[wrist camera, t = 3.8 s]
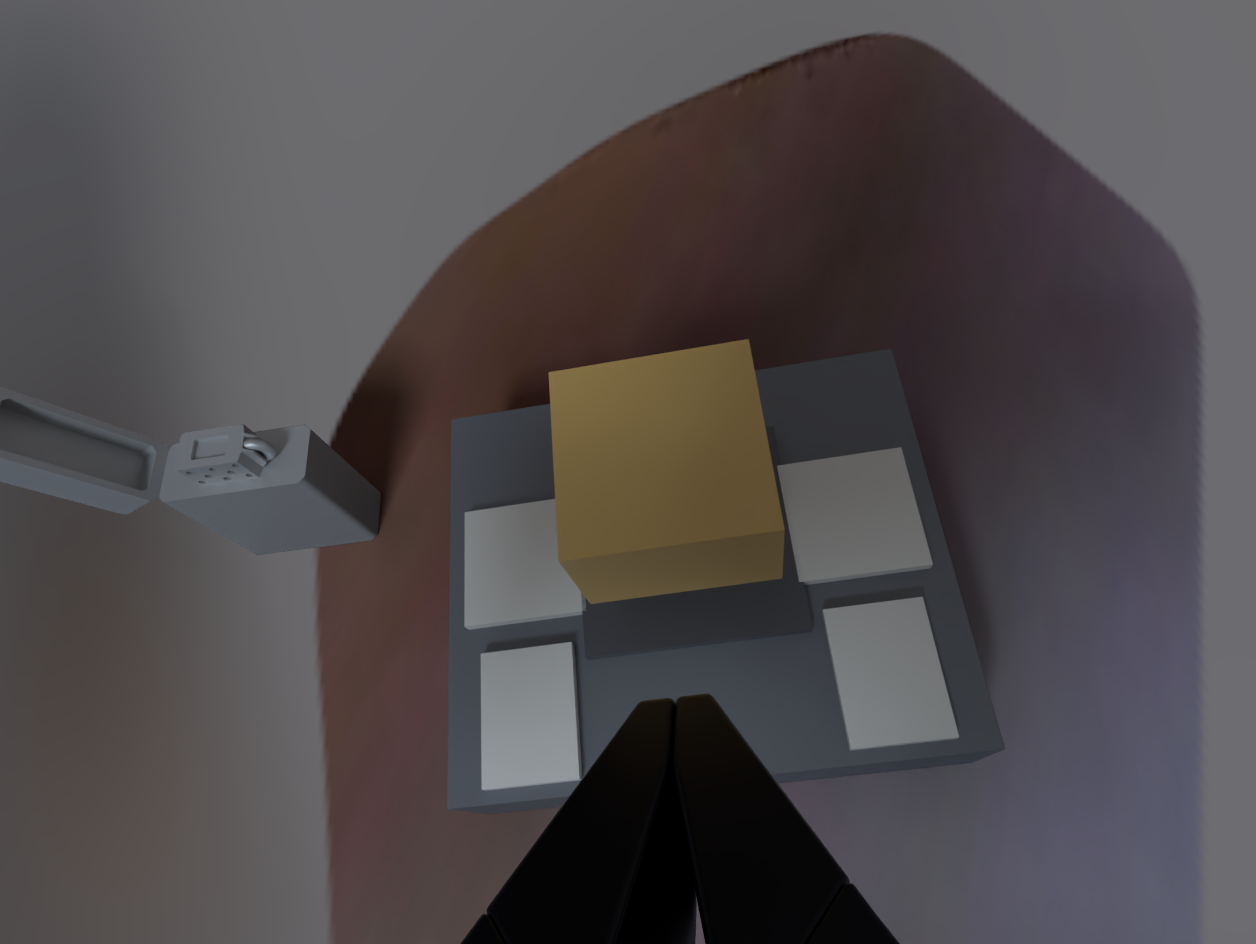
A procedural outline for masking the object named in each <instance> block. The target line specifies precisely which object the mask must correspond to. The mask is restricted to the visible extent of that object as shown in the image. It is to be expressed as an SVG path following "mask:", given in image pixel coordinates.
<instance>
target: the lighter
mask: <svg viewBox="0 0 1256 944" xmlns="http://www.w3.org/2000/svg"><path fill="white" fill-rule="evenodd" d="M0 481H1V482H5V483H8V484H12V485H16V486H20V487H23V488H27V489H31V490H35V491H38V492H42V493H46V494H50V495H54V496H58V497H61V498H65V499H68V500H72V501H76V502H80V503H83V504H87V505H91V506H95V507H99V508H102V509H106V510H110V511H114V512H118V513H121V514H125V515H126V514H128V513H130V512H132V511H134V510H136V509H138V508H139V507H141V506H143V505H145V504H147V503H148V502H150V501H152V500H154V499H156V498H158V497H159V498H160V499H161V500H162V501H163V502H164V503H166V504H168V505H170V506H171V507H173V508H175V509H176V510H178V511H180V512H182V513H183V514H185V515H187V516H189V517H191V518H192V519H194V520H196V521H198V522H199V523H201V524H203V525H205V526H207V527H208V528H210V529H212V530H214V531H215V532H217V533H219V534H221V535H222V536H224V537H226V538H228V539H229V540H231V541H233V542H235V543H237V544H239V545H240V546H242V547H244V548H245V549H247V550H249V551H251V552H253V553H254V554H256V555H262V554H270V553H277V552H285V551H293V550H301V549H307V548H316V547H324V546H331V545H339V544H347V543H354V542H362V541H370V540H373V539H374V538H375V537H376V536H377V535H378V528H379V514H380V500H381V493H380V492H379V491H378V490H377V489H376V488H375V487H374V486H373V485H371V484H370V483H369V482H368V481H367V480H366V479H365V478H364V477H363V476H362V475H360V474H359V473H358V472H357V471H356V470H355V469H354V468H353V467H352V466H350V465H349V464H348V463H347V462H346V461H345V460H344V459H343V458H342V457H341V456H339V455H338V454H337V453H336V452H335V451H334V450H333V449H332V448H331V447H329V446H328V445H327V444H326V443H325V442H324V441H323V440H322V439H321V438H320V437H318V436H317V435H316V434H315V433H314V432H313V431H312V430H310V428H308V427H307V426H306V425H299V426H292V427H285V428H278V429H273V430H265V431H258V432H252V431H251V430H250V429H249V428H247V427H246V426H245V425H244V424H240V425H234V426H227V427H220V428H214V429H207V430H200V431H194V432H187V433H184V434H183V435H182V436H181V437H180V443H178V444H175V445H173V446H172V447H171V448H170V449H169V450H168V449H167V447H166V446H165V444H164V443H163V442H160V441H157V440H154V439H151V438H149V437H146V436H143V435H140V434H137V433H134V432H131V431H128V430H125V429H122V428H120V427H117V426H114V425H111V424H108V423H105V422H102V421H99V420H96V419H93V418H90V417H88V416H85V415H82V414H79V413H76V412H72V411H70V410H67V409H64V408H61V407H58V406H55V405H52V404H50V403H47V402H43V401H41V400H38V399H35V398H32V397H29V396H26V395H23V394H20V393H18V392H14V391H12V390H9V389H6V388H3V387H0Z"/></svg>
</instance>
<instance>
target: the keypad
mask: <svg viewBox="0 0 1256 944" xmlns="http://www.w3.org/2000/svg"><path fill="white" fill-rule="evenodd" d="M755 375H756V380H757V386H758V391H759V396H760V401H761V407H762V412H763V417H764V423H765V428H766V433H767V439H768V444H769V449H770V455H771V460H772V465H773V471H774V476H775V481H776V486H777V492H778V497H779V502H780V508H781V513H782V518H783V524H784V529H785V533H784V555H783V576H782V579H775V580H767V581H760V582H752V583H745V584H738V585H730V586H723V587H715V588H708V589H700V590H693V591H685V592H678V593H670V594H663V595H655V596H648V597H640V598H633V599H626V600H618V601H611V602H603V603H596V604H590V603H589V602H588V600H587V599H586V598H585V596H584V595H583V594H582V592H581V591H580V590H579V588H578V587H577V586H576V584H575V583H574V581H573V580H572V579H571V577H570V576H569V575H568V573H567V572H566V571H565V569H564V568H563V567H562V565H561V564H560V563H559V561H558V542H557V523H556V504H555V485H554V466H553V447H552V428H551V409H550V404H545V405H539V406H533V407H527V408H520V409H514V410H508V411H502V412H496V413H490V414H484V415H477V416H471V417H465V418H459V419H453V420H451V493H450V586H449V679H448V772H447V809H449V810H458V811H468V812H477V813H486V814H493V813H503V812H512V811H521V810H531V809H540V808H550V807H559V806H563V804H564V803H565V802H566V800H567V799H568V797H569V796H570V795H571V793H572V792H573V791H574V789H575V788H576V787H577V785H578V784H579V783H580V781H581V780H582V778H583V777H584V776H585V774H586V773H587V772H588V770H589V769H590V768H591V766H592V765H593V763H594V762H595V761H596V759H597V758H598V757H599V755H600V754H601V753H602V751H603V750H604V749H605V747H606V746H607V744H608V743H609V742H610V740H611V739H612V738H613V736H614V735H615V734H616V732H617V731H618V729H619V728H620V727H621V725H622V724H623V723H624V721H625V720H626V719H627V717H628V716H629V714H630V713H631V712H632V710H633V709H634V708H635V706H636V705H637V704H638V703H639V702H641V701H645V700H654V699H663V698H671V699H673V700H674V701H675V703H676V700H677V699H678V698H679V697H681V696H689V695H698V694H710V695H712V696H713V697H714V698H715V700H716V701H717V702H718V704H719V705H720V706H721V708H722V709H723V710H724V712H725V713H726V714H727V716H728V717H729V718H730V720H731V721H732V722H733V724H734V725H735V726H736V728H737V729H738V730H739V732H740V733H741V734H742V736H743V737H744V738H745V740H746V741H747V743H748V744H749V745H750V747H751V748H752V749H753V751H754V752H755V753H756V755H757V756H758V757H759V759H760V760H761V761H762V763H763V764H764V765H765V767H766V768H767V769H768V771H769V772H770V773H771V775H772V776H773V777H774V779H775V780H776V781H777V783H784V782H794V781H803V780H812V779H822V778H831V777H841V776H850V775H859V774H869V773H878V772H888V771H897V770H906V769H916V768H925V767H935V766H944V765H953V764H963V763H972V762H974V761H977V760H979V759H982V758H984V757H987V756H989V755H992V754H994V753H997V752H999V751H1002V750H1004V749H1005V748H1004V744H1003V741H1002V737H1001V734H1000V730H999V727H998V723H997V720H996V716H995V712H994V709H993V705H992V702H991V698H990V695H989V691H988V688H987V684H986V681H985V677H984V673H983V670H982V666H981V663H980V659H979V656H978V652H977V649H976V645H975V642H974V638H973V635H972V631H971V627H970V624H969V620H968V617H967V613H966V610H965V606H964V603H963V599H962V596H961V592H960V589H959V585H958V581H957V578H956V574H955V571H954V567H953V564H952V560H951V557H950V553H949V550H948V546H947V542H946V539H945V535H944V532H943V528H942V525H941V521H940V518H939V514H938V511H937V507H936V504H935V500H934V496H933V493H932V489H931V486H930V482H929V479H928V475H927V472H926V468H925V465H924V461H923V458H922V454H921V450H920V447H919V443H918V440H917V436H916V433H915V429H914V426H913V422H912V419H911V415H910V412H909V408H908V404H907V401H906V397H905V394H904V390H903V387H902V383H901V380H900V376H899V373H898V369H897V365H896V362H895V358H894V355H893V351H892V348H890V349H884V350H878V351H871V352H865V353H859V354H853V355H847V356H841V357H834V358H828V359H822V360H816V361H810V362H804V363H798V364H791V365H785V366H779V367H773V368H767V369H761V370H755Z"/></svg>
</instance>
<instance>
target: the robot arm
mask: <svg viewBox="0 0 1256 944" xmlns="http://www.w3.org/2000/svg"><path fill="white" fill-rule="evenodd" d="M696 897H697V902H698V907H699V913H700V918H701V923H702V928H703V933H704V939H705V944H900V943H899V942H898V941H897V940H896V938H895V937H894V936H893V935H892V933H891V932H890V931H889V930H888V928H887V927H886V926H885V925H884V924H883V922H882V921H881V920H880V919H879V917H878V916H877V915H876V914H875V912H874V911H873V910H872V908H871V907H870V906H869V904H868V903H867V902H866V900H865V899H864V898H863V896H862V895H861V893H860V892H859V891H858V889H857V888H856V887H855V886H854V885H853V884H852V883H850V881H849V878H848V877H847V875H846V874H845V873H844V871H843V870H842V869H841V867H840V866H839V865H838V863H837V862H836V861H835V859H834V858H833V857H832V855H831V854H830V853H829V851H828V850H827V848H826V847H825V846H824V844H823V843H822V842H821V840H820V839H819V838H818V836H817V835H816V834H815V832H814V831H813V830H812V828H811V827H810V826H809V824H808V823H807V822H806V820H805V819H804V818H803V816H802V815H801V814H800V812H799V811H798V810H797V808H796V807H795V806H794V804H793V803H792V802H791V800H790V799H789V798H788V796H787V795H786V793H785V792H784V791H783V789H782V788H781V787H780V785H779V784H778V783H777V781H776V780H775V779H774V777H773V776H772V775H771V773H770V772H769V771H768V769H767V768H766V767H765V765H764V764H763V763H762V761H761V760H760V759H759V757H758V756H757V755H756V753H755V752H754V751H753V749H752V748H751V747H750V745H749V744H748V743H747V741H746V740H745V738H744V737H743V736H742V734H741V733H740V732H739V730H738V729H737V728H736V726H735V725H734V724H733V722H732V721H731V720H730V718H729V717H728V716H727V714H726V713H725V712H724V710H723V709H722V708H721V706H720V705H719V704H718V702H717V701H716V700H715V698H714V697H713V696H712V695H710V694H698V695H689V696H681V697H679V698H678V699H677V700H676V703H675V701H674V700H673V699H671V698H663V699H654V700H645V701H641V702H639V703H638V704H637V705H636V706H635V708H634V709H633V710H632V712H631V713H630V714H629V716H628V717H627V719H626V720H625V721H624V723H623V724H622V725H621V727H620V728H619V729H618V731H617V732H616V734H615V735H614V736H613V738H612V739H611V740H610V742H609V743H608V744H607V746H606V747H605V749H604V750H603V751H602V753H601V754H600V755H599V757H598V758H597V759H596V761H595V762H594V763H593V765H592V766H591V768H590V769H589V770H588V772H587V773H586V774H585V776H584V777H583V778H582V780H581V781H580V783H579V784H578V785H577V787H576V788H575V789H574V791H573V792H572V793H571V795H570V796H569V797H568V799H567V800H566V802H565V803H564V804H563V806H562V807H561V808H560V810H559V811H558V812H557V814H556V815H555V817H554V818H553V819H552V821H551V822H550V823H549V825H548V826H547V827H546V829H545V830H544V832H543V833H542V834H541V836H540V837H539V838H538V840H537V841H536V842H535V844H534V845H533V846H532V848H531V849H530V851H529V852H528V853H527V855H526V856H525V857H524V859H523V860H522V861H521V863H520V864H519V866H518V867H517V868H516V870H515V871H514V872H513V874H512V875H511V876H510V878H509V879H508V880H507V882H506V883H505V885H504V886H503V887H502V889H501V890H500V891H499V893H498V894H497V895H496V897H495V898H494V900H493V901H492V902H491V904H490V905H489V906H488V908H487V914H483V915H481V917H480V918H479V919H478V921H477V922H476V924H475V925H474V926H473V928H472V929H471V930H470V932H469V933H468V934H467V936H466V937H465V938H464V940H463V941H462V943H461V944H695V937H696V904H697V903H696Z"/></svg>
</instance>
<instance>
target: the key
mask: <svg viewBox="0 0 1256 944" xmlns="http://www.w3.org/2000/svg"><path fill="white" fill-rule="evenodd" d="M549 390H550V409H551V428H552V447H553V466H554V485H555V504H556V523H557V542H558V561H559V563H560V564H561V565H562V567H563V568H564V569H565V571H566V572H567V573H568V575H569V576H570V577H571V579H572V580H573V581H574V583H575V584H576V586H577V587H578V588H579V590H580V591H581V592H582V594H583V595H584V596H585V598H586V599H587V600H588V602H589V603H590V604H596V603H603V602H611V601H618V600H626V599H633V598H640V597H648V596H655V595H663V594H670V593H678V592H685V591H693V590H700V589H708V588H715V587H723V586H730V585H738V584H745V583H752V582H760V581H767V580H775V579H782V576H783V555H784V533H785V529H784V524H783V518H782V513H781V508H780V502H779V497H778V492H777V486H776V481H775V476H774V471H773V465H772V460H771V455H770V449H769V444H768V439H767V433H766V428H765V423H764V417H763V412H762V407H761V401H760V396H759V391H758V386H757V380H756V375H755V370H754V364H753V359H752V354H751V348H750V343H749V339H745V340H739V341H733V342H727V343H721V344H715V345H709V346H703V347H697V348H691V349H685V350H679V351H673V352H667V353H661V354H655V355H649V356H643V357H637V358H631V359H625V360H619V361H613V362H607V363H601V364H595V365H589V366H583V367H577V368H571V369H565V370H559V371H554V372H549Z"/></svg>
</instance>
